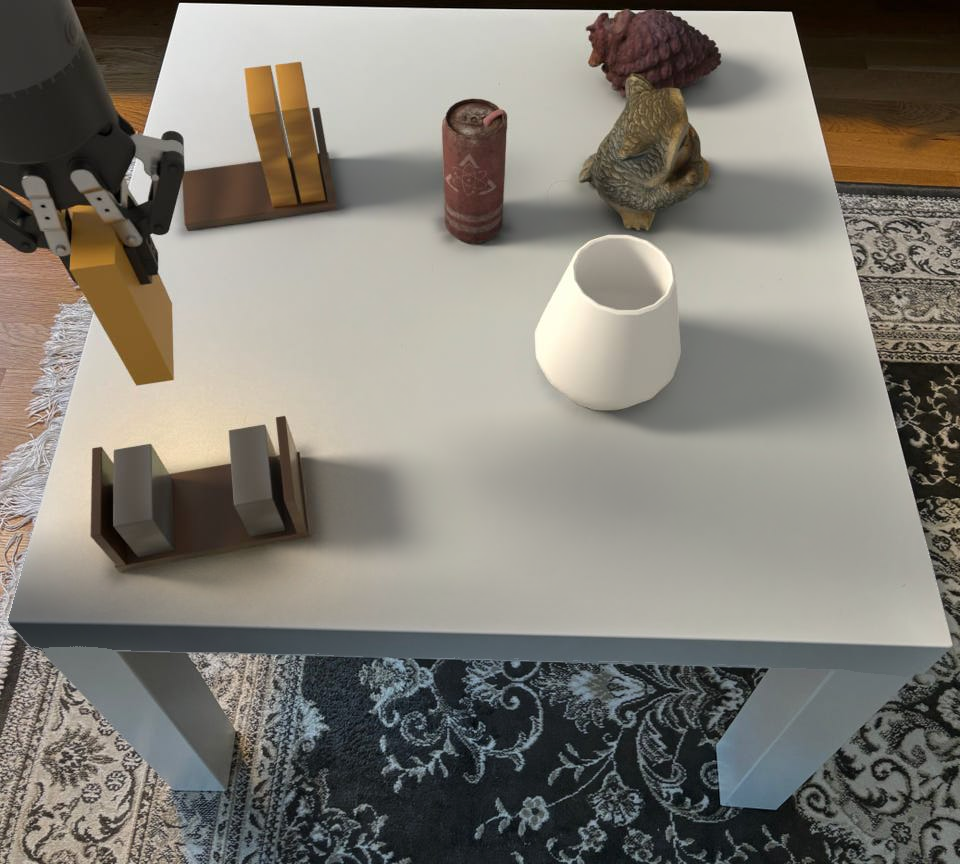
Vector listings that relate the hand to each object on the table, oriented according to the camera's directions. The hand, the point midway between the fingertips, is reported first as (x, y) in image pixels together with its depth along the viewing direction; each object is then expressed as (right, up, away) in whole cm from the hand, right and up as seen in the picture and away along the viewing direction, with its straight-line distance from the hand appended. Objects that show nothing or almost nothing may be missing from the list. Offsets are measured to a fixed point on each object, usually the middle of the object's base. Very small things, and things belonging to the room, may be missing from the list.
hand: (120, 277), depth 58 cm
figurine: (+41, +15, +39) cm, 59 cm away
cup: (+35, -4, +27) cm, 45 cm away
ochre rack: (-1, +16, +39) cm, 42 cm away
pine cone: (+44, +31, +49) cm, 73 cm away
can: (+23, +12, +37) cm, 45 cm away
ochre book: (0, -4, +6) cm, 7 cm away
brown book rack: (0, -17, +19) cm, 26 cm away
